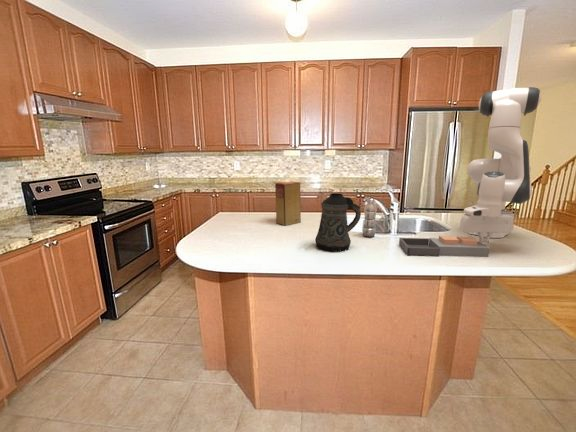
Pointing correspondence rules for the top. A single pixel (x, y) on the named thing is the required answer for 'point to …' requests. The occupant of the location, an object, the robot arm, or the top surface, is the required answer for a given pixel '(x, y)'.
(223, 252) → the top surface
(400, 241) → the box
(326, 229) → the beer stein
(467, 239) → the tile
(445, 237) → the tile
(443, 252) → the plate
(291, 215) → the food packaging
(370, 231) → the plastic bottle
